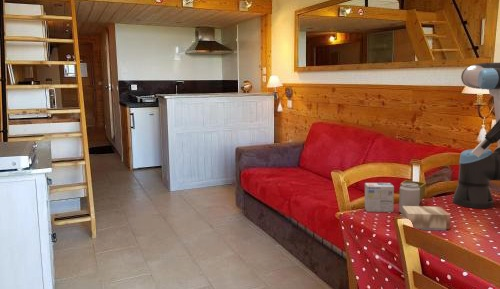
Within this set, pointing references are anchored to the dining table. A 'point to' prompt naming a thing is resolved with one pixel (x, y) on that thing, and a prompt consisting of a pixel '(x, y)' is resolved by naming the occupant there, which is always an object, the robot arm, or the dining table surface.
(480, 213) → the dining table surface
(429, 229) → the mat
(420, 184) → the flower pot
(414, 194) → the can
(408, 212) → the birch block
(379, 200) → the light bulb box
